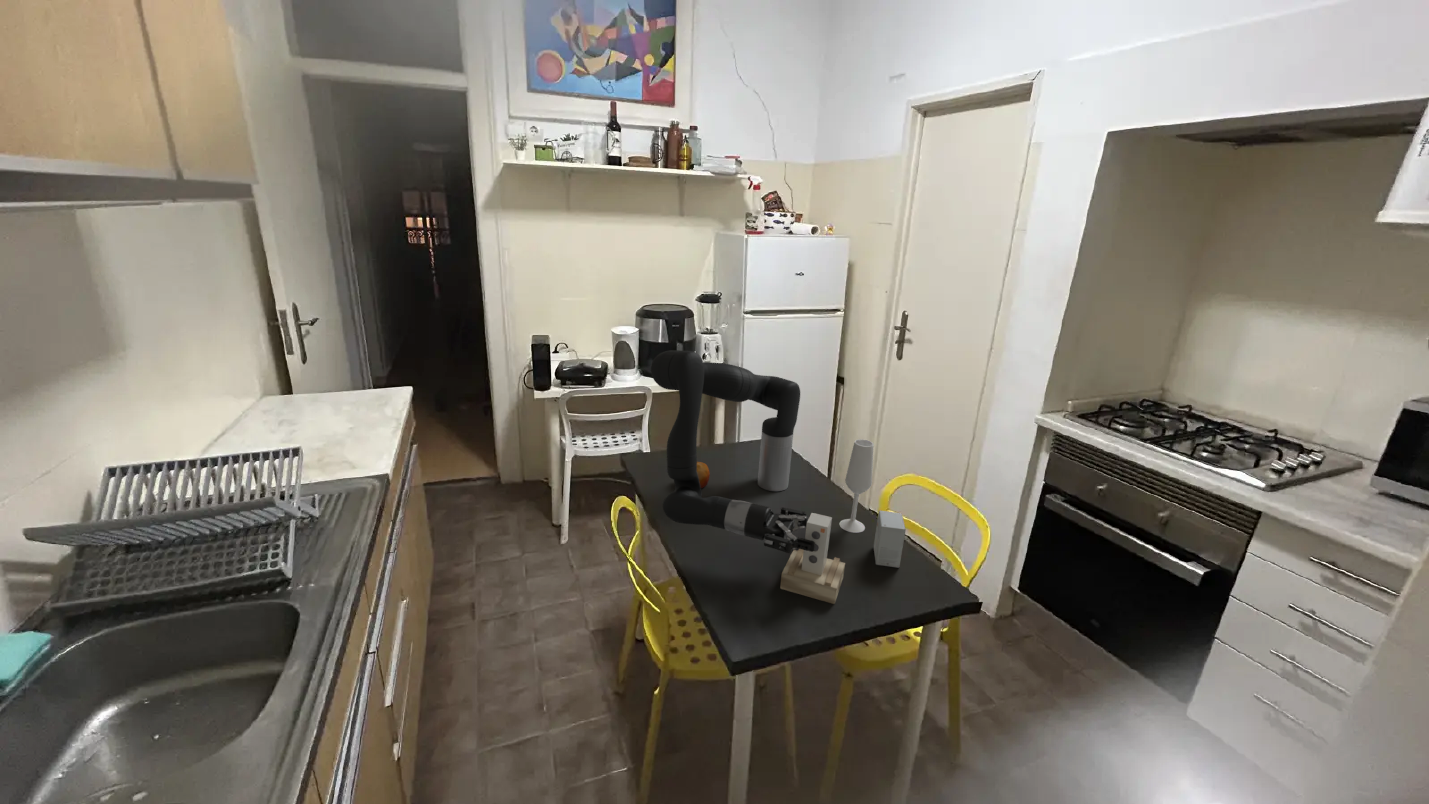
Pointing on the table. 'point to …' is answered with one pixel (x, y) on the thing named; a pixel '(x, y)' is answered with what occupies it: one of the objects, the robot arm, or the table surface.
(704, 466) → the fruit
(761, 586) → the table surface
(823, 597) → the brown wooden ridged block
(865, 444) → the champagne flute
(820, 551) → the tall grey box
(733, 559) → the table surface
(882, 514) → the small box
